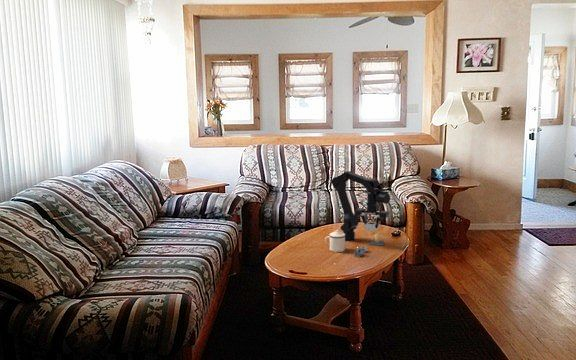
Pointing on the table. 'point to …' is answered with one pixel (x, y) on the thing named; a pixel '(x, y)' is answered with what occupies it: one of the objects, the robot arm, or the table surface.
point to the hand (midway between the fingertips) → (371, 227)
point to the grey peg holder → (377, 241)
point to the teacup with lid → (336, 241)
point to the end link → (371, 226)
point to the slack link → (363, 249)
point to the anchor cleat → (358, 252)
